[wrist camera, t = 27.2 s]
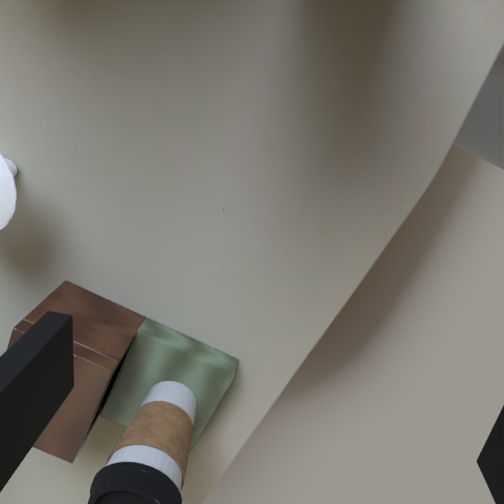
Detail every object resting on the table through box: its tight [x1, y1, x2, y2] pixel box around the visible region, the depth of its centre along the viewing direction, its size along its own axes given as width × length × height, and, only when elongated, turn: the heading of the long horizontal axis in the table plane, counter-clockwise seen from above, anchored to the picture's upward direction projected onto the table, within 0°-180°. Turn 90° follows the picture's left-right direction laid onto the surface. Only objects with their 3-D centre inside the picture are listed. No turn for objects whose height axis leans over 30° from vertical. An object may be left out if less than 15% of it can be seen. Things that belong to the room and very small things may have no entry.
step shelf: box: [7, 281, 238, 463], centre depth 49 cm, size 22×14×10 cm, turn 64°
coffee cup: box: [88, 381, 197, 504], centre depth 44 cm, size 8×8×15 cm
